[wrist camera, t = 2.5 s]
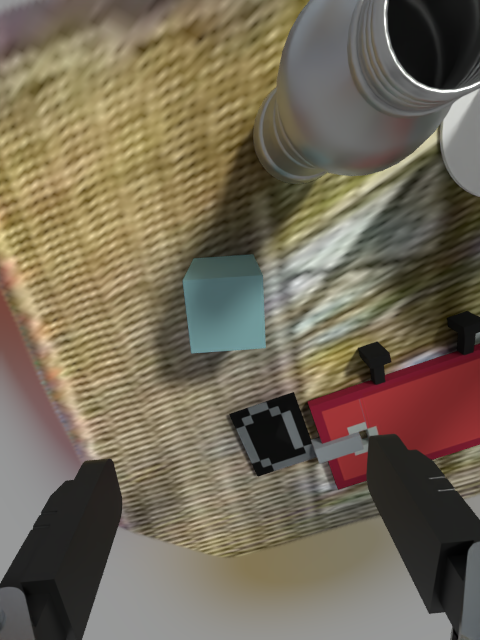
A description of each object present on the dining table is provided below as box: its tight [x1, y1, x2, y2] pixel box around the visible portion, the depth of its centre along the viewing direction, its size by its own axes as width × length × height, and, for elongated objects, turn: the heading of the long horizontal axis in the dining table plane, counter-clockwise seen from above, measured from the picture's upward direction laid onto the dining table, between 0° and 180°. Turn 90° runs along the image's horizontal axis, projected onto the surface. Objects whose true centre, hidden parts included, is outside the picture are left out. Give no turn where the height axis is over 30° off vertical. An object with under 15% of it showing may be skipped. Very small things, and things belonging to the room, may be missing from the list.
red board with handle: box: [229, 311, 480, 490], centre depth 34 cm, size 30×3×15 cm
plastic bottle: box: [253, 0, 480, 184], centre depth 17 cm, size 6×7×20 cm
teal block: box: [183, 254, 266, 353], centre depth 26 cm, size 5×5×8 cm
